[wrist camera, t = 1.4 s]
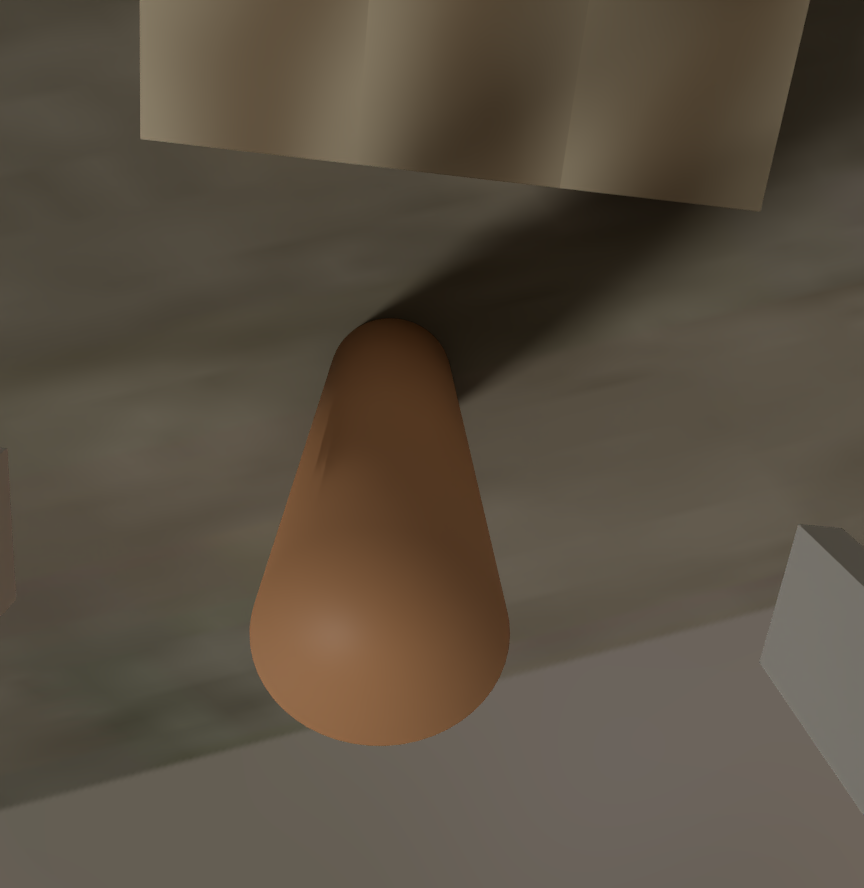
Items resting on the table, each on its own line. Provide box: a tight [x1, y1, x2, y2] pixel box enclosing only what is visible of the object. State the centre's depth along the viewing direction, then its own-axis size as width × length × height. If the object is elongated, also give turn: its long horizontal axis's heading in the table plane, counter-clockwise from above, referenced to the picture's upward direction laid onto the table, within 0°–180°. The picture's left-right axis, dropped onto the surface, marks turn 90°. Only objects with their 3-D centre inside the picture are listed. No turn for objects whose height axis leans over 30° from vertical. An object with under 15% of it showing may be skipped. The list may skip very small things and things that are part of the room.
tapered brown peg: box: [250, 318, 510, 746], centre depth 18 cm, size 4×4×14 cm
